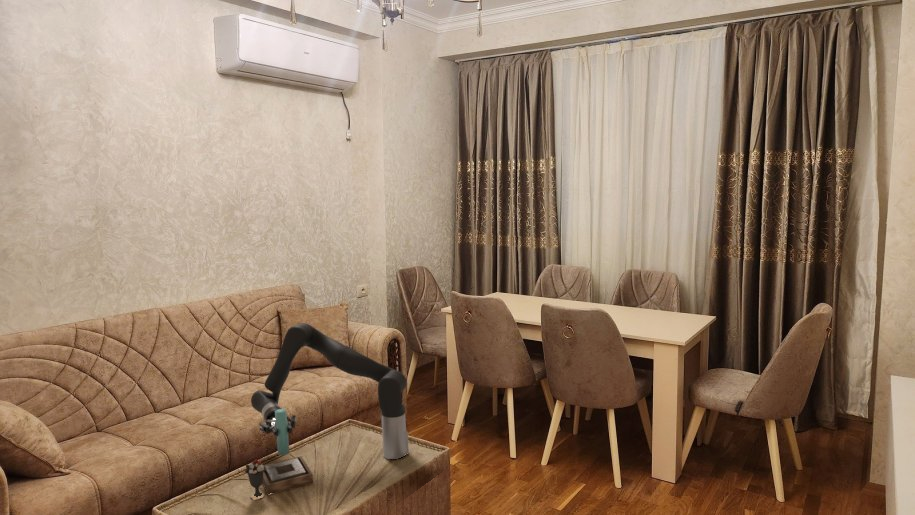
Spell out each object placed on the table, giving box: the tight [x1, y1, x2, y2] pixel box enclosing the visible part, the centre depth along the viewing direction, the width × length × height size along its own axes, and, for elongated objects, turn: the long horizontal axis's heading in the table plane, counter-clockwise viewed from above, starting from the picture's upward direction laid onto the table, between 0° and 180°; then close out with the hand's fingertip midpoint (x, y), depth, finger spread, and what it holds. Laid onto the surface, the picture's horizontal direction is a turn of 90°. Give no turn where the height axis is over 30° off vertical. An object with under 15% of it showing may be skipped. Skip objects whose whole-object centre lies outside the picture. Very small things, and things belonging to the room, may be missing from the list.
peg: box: [275, 408, 290, 456], centre depth 227 cm, size 4×4×16 cm
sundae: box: [244, 454, 266, 497], centre depth 218 cm, size 7×7×15 cm
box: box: [262, 455, 314, 495], centre depth 230 cm, size 16×16×4 cm
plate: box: [265, 457, 306, 484], centre depth 230 cm, size 12×12×3 cm
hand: (283, 432), depth 225 cm, fingers closed on peg, 4 cm apart
